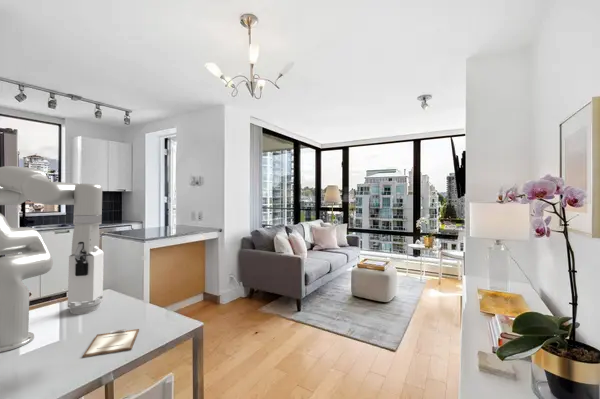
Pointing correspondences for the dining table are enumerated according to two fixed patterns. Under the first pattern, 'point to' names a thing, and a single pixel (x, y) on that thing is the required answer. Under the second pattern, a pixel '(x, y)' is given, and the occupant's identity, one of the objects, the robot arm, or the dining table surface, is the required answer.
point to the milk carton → (86, 278)
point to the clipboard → (112, 342)
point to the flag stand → (85, 306)
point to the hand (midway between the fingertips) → (86, 271)
